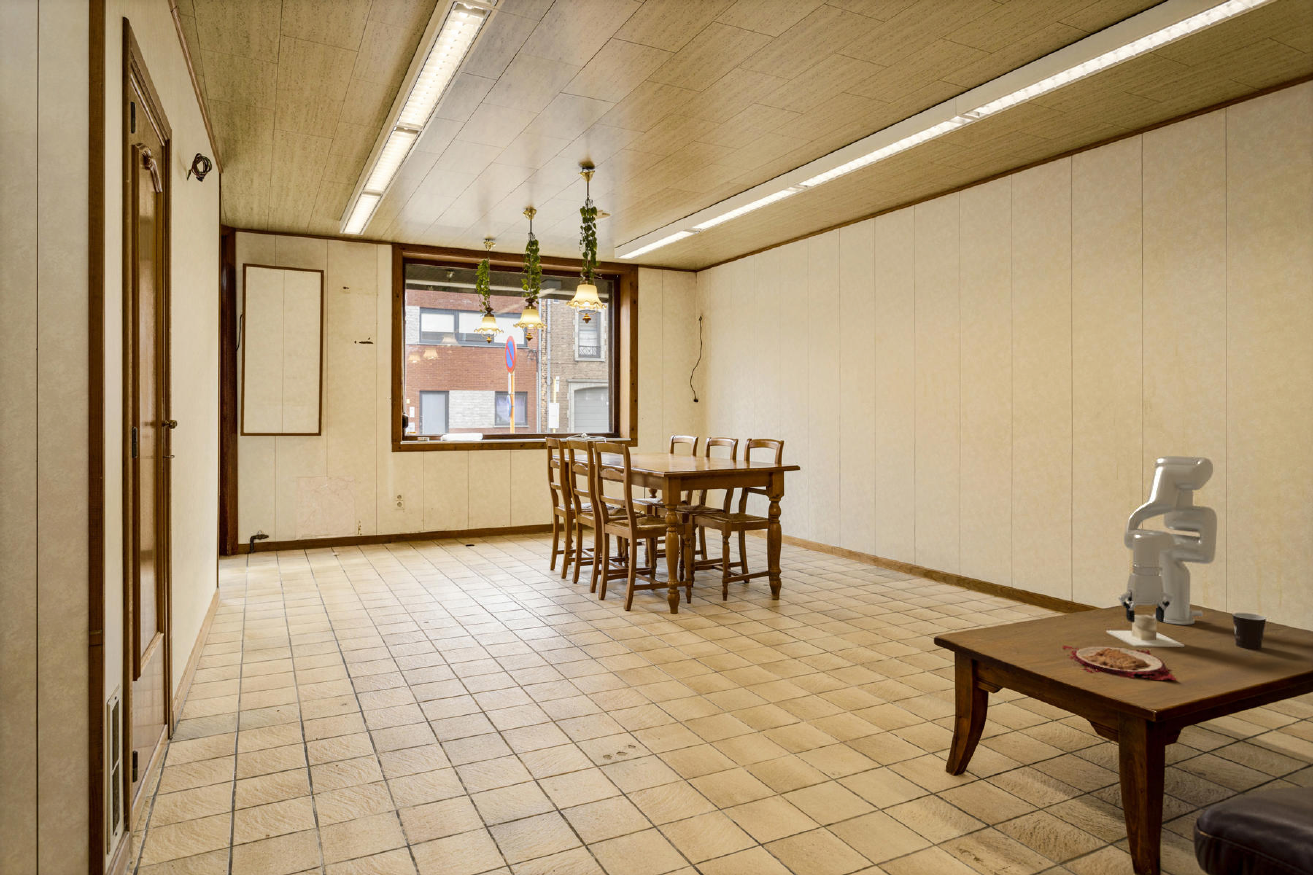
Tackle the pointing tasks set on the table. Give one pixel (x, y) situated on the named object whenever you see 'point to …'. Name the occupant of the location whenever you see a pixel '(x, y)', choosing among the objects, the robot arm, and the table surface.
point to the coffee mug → (1248, 630)
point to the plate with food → (1121, 662)
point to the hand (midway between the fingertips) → (1145, 620)
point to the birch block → (1144, 627)
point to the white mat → (1159, 642)
